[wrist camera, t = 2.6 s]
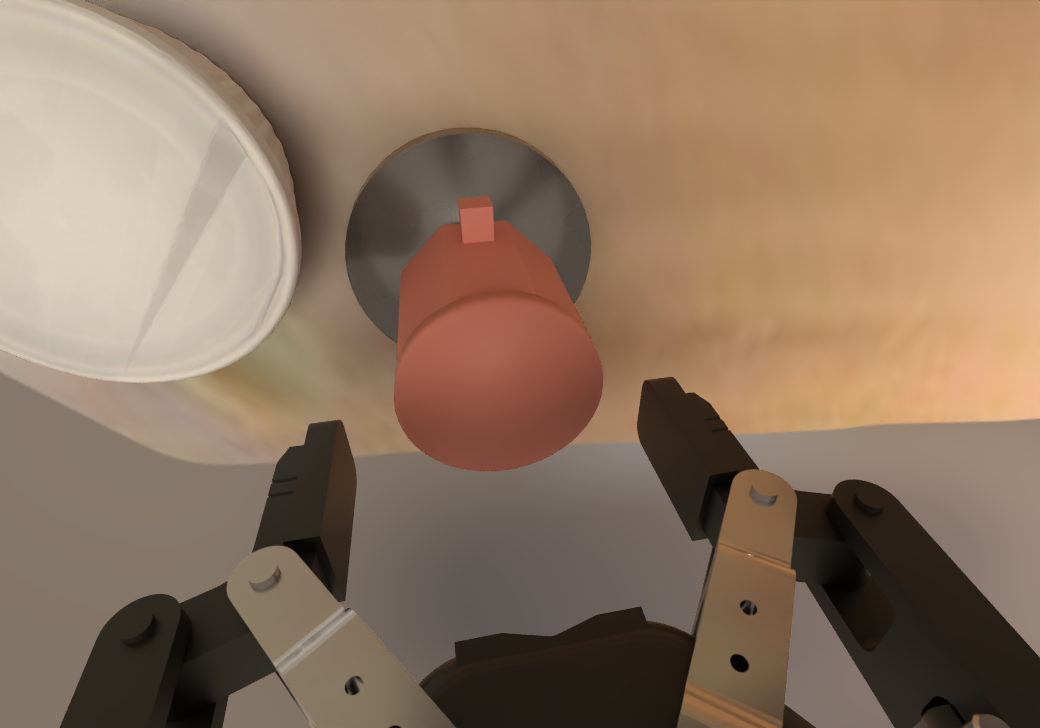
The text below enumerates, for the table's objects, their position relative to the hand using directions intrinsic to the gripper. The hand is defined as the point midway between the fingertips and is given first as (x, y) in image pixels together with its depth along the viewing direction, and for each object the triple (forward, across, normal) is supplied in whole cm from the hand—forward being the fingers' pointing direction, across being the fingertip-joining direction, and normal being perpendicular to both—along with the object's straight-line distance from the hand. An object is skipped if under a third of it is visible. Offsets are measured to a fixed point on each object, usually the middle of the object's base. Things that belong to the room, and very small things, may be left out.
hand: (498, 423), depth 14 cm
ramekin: (+11, +11, -4) cm, 16 cm away
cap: (+7, 0, 0) cm, 7 cm away
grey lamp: (+11, 0, 0) cm, 11 cm away
